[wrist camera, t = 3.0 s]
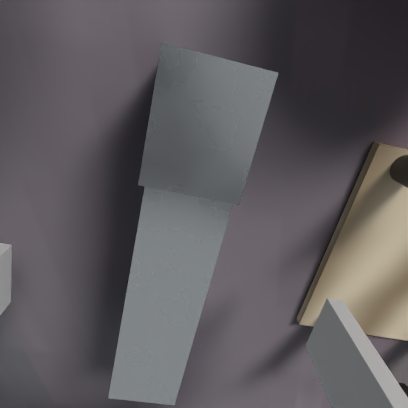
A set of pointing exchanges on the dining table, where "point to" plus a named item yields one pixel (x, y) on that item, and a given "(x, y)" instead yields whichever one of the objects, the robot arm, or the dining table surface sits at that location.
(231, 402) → the dining table surface
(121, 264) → the dining table surface
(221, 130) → the grey stepped post
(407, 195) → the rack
